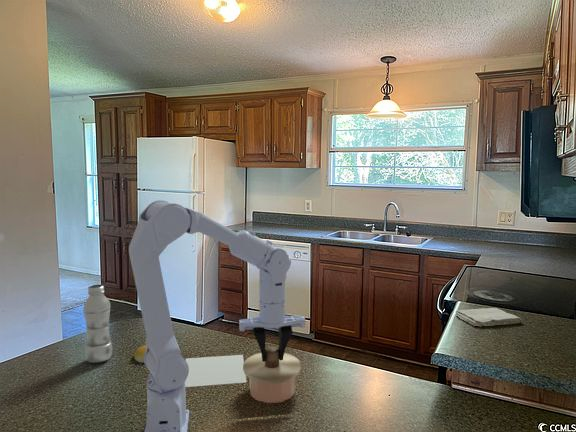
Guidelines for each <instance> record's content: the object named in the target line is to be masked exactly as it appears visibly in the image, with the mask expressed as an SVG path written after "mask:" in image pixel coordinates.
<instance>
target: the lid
mask: <svg viewBox="0 0 576 432" xmlns="http://www.w3.org/2000/svg"><path fill="white" fill-rule="evenodd" d="M265 352H266V362H263V361H262V354H261V352H259V353H256V354H253V355H251V356H249V357H247V358H246V360H245V359H244V364H243V371H244V373H245V375H246V378H248V379H249V380H250V379H252V380H254V381H258V382H262V383H281V382H286V381H289V380H291V379H293V378H295V379H296V377H298V376H299V374H301V370H302V364H301V363H302V362H301V361H300V359H298V358H297V357H296V356H294V355H293V354H289V353H286V352H284V356H283V360H280V359H279V347H276V346H269V347H265Z"/></svg>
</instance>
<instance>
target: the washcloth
mask: <svg viewBox="0 0 576 432" xmlns="http://www.w3.org/2000/svg"><path fill="white" fill-rule="evenodd" d="M455 313H456V314H455V315H459V316H461V317H463V318H465V319H467V320H469V321H471V322H473V323H486V322H487V323H488V322H504V321H519V320H521V321H522V322H523V319H522V318H521V317H519V316H517V315H514V314H512V313H507V312H506V311H504V310H502V309H500V308H498V307H490V308H489V307H488V308H484V307H483V308H482V307H481V308H472V309H471V308H470V309H459V310H456V311H455Z"/></svg>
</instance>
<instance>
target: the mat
mask: <svg viewBox="0 0 576 432" xmlns="http://www.w3.org/2000/svg"><path fill="white" fill-rule="evenodd" d="M185 361H186V362H187V364H188V367H189V373H188V377H187V379H186V380H185V388H193V387H195V388H196V387H207V386H221V385H232V384H245V383H247V376H246V375H245V373H244V371H243V364H244V362H245V359H244V354H234V355H232V354H231V355H221V356H219V355H218V356H204V357H203V356H202V357H190V358H185Z"/></svg>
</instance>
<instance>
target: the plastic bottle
mask: <svg viewBox="0 0 576 432" xmlns="http://www.w3.org/2000/svg"><path fill="white" fill-rule="evenodd" d="M87 287H88V288H87V290H88V292H87V295H88V298H87V299H86V300H85V303H84V304H83V315H84V319H85V327H86V343H85V349H84V356H85V359H86V360H87V362H88V363H91V364H98V363H103V362H105V361H107V360H109V359H110V358H111V356H112V354H113V344H112V341H111V336H110V334H111V333H110V315H111V314H110V312H111V307H112V306H111V302H110V300H109V299H108V298H107V296H105V286H104V284H99V283H97V284H93V285H92V284H91V285H89V286H87Z"/></svg>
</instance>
